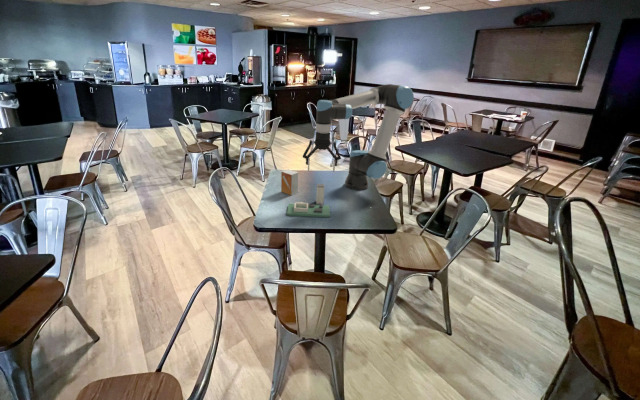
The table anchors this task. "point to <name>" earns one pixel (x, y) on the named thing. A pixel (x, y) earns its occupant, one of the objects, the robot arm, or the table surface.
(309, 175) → the table surface
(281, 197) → the table surface
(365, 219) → the table surface
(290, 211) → the board
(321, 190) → the plug
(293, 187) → the small box
